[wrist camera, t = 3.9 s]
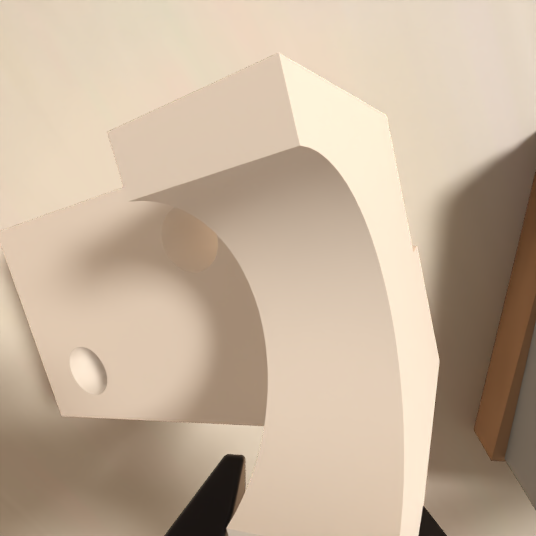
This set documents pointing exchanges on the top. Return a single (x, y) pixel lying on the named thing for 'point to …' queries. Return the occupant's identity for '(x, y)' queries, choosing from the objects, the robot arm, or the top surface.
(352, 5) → the top surface
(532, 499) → the slate slab
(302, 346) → the bracket
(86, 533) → the top surface
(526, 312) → the walnut slab
